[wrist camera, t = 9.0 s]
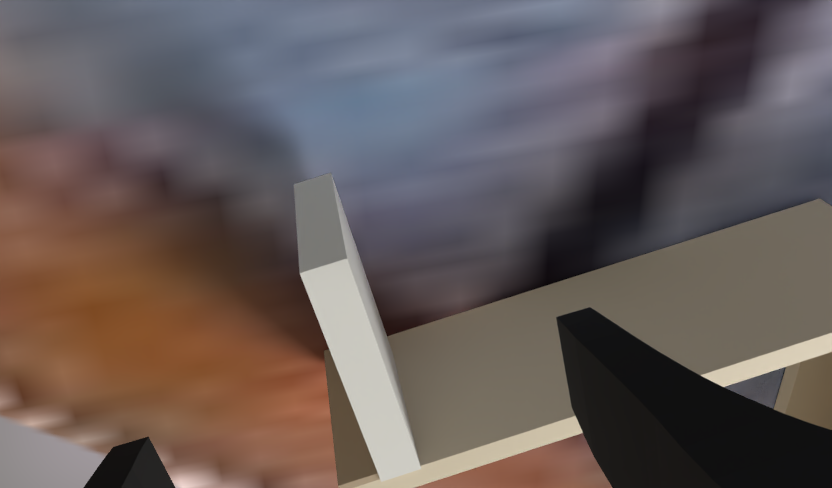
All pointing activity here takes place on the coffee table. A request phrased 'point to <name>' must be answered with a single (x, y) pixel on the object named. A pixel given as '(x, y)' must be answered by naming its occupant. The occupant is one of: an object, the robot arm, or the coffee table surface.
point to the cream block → (547, 338)
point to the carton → (808, 391)
